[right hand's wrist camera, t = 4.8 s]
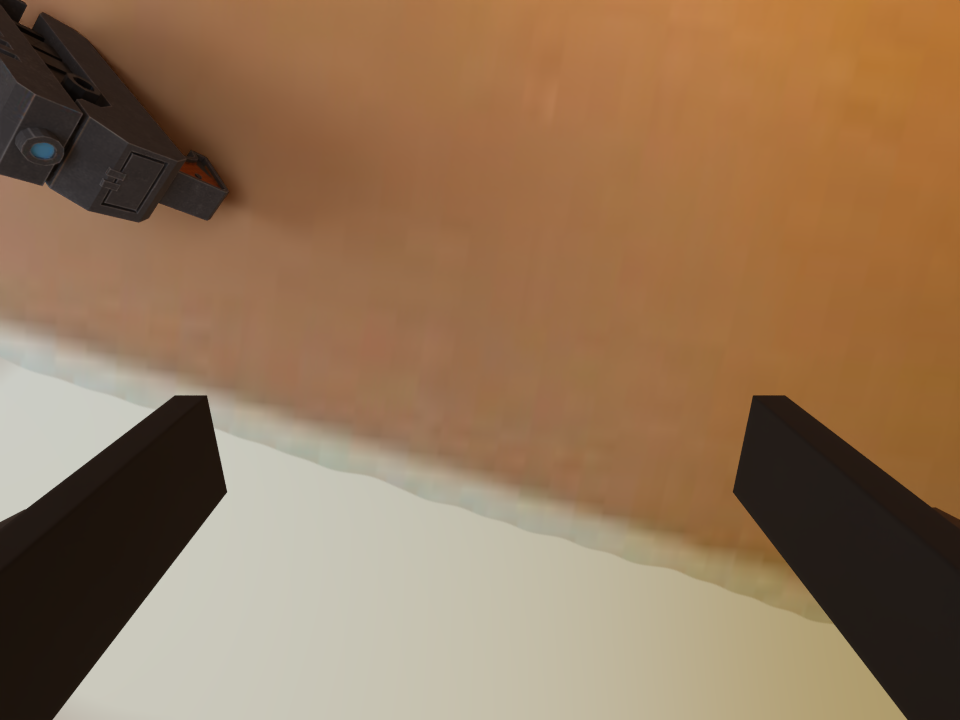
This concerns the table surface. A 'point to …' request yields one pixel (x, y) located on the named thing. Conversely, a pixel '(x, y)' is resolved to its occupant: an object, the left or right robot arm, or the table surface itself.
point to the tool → (88, 128)
